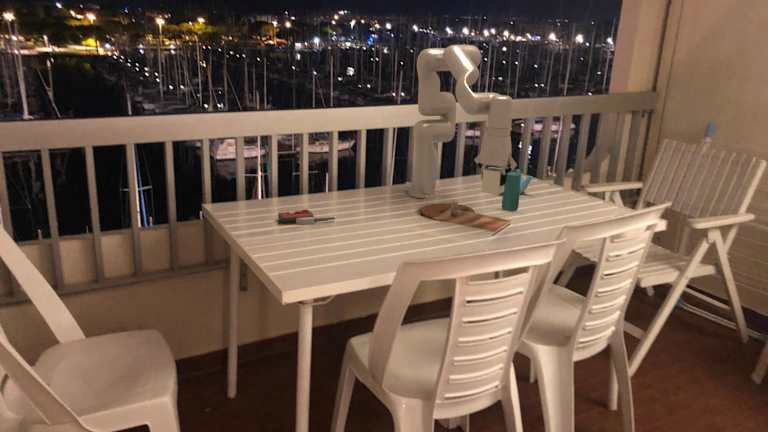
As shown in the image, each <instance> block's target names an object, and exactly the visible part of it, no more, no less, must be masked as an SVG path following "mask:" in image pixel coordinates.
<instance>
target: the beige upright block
mask: <svg viewBox="0 0 768 432" xmlns="http://www.w3.org/2000/svg"><path fill="white" fill-rule="evenodd" d="M501 175H502V170H501V167H496V166H488V168H486V169H483V177H482V176H481V177H482V179H481V191H480V192H481V193H483V194H484V193H485V194H491V195H495V196H498V195H501V194H500V193H502V192H504V185H503V186H500V179H501Z"/></svg>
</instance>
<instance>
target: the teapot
mask: <svg viewBox="0 0 768 432" xmlns="http://www.w3.org/2000/svg"><path fill="white" fill-rule="evenodd" d="M512 170H517V171H519V172H520V173H521V169H520V168H518V169H512ZM532 179H533V176H532V175H528V176H527V178H526V179H524V177H523V175H522V174H521V181H520V193H519V195H521V194H523V193H524V192H525V190H527V189H528V187H529V184H530V182H531V181H532ZM499 195H503V192H502V193H500V194H499Z"/></svg>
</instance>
